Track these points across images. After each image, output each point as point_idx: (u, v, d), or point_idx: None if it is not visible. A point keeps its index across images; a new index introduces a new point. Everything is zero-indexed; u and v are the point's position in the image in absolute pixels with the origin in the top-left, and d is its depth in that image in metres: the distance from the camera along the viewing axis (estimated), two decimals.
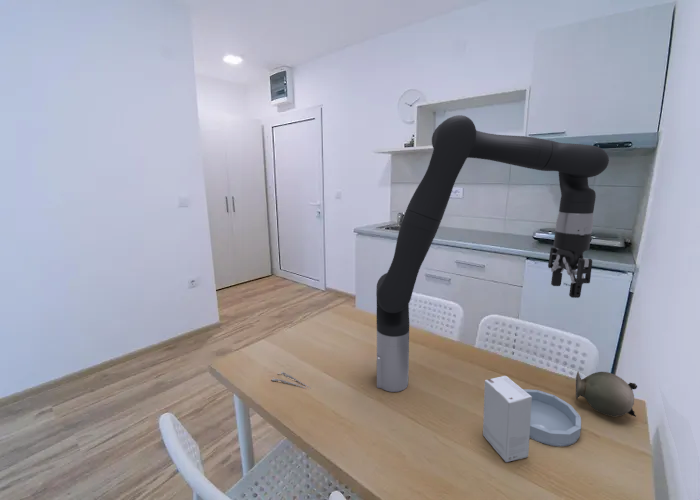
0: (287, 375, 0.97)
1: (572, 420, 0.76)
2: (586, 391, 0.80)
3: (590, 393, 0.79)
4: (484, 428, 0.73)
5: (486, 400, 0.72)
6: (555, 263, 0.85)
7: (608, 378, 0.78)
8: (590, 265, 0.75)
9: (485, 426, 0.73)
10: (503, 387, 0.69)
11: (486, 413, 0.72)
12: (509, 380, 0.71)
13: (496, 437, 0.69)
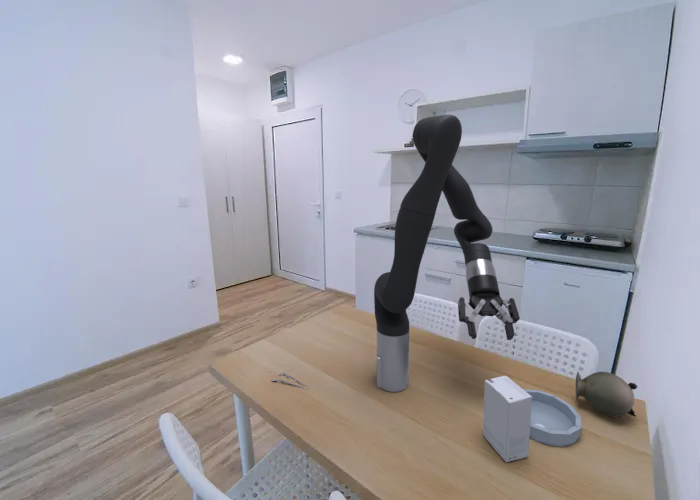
0: (288, 375, 0.97)
1: (572, 420, 0.76)
2: (586, 391, 0.80)
3: (589, 393, 0.79)
4: (484, 428, 0.73)
5: (486, 400, 0.72)
6: (478, 309, 0.80)
7: (608, 378, 0.78)
8: None
9: (485, 426, 0.73)
10: (503, 386, 0.69)
11: (486, 413, 0.72)
12: (509, 380, 0.71)
13: (496, 437, 0.69)
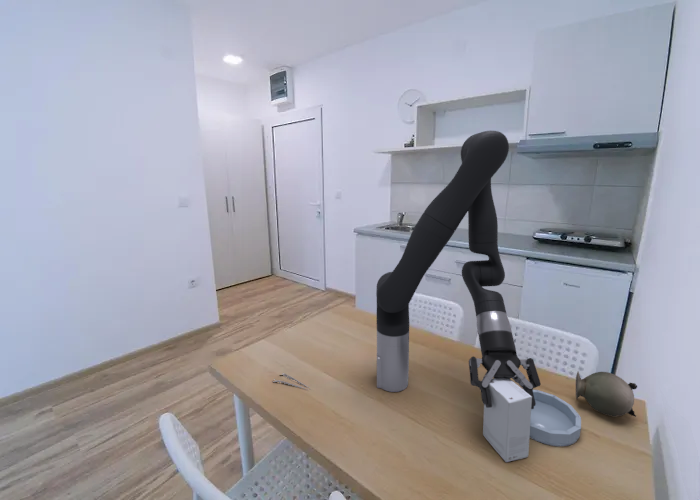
0: (289, 376, 0.97)
1: (572, 420, 0.76)
2: (586, 391, 0.80)
3: (590, 393, 0.79)
4: (484, 428, 0.73)
5: None
6: (492, 372, 0.70)
7: (608, 378, 0.78)
8: None
9: (485, 426, 0.73)
10: (503, 386, 0.69)
11: (486, 413, 0.72)
12: (509, 380, 0.71)
13: (496, 437, 0.69)
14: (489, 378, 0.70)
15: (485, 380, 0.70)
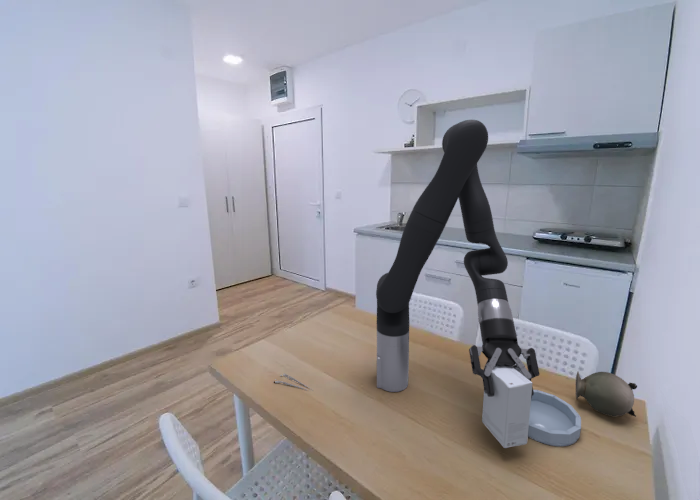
0: (290, 377, 0.96)
1: (572, 420, 0.76)
2: (586, 391, 0.80)
3: (589, 393, 0.79)
4: (483, 415, 0.73)
5: None
6: (494, 361, 0.69)
7: (608, 378, 0.78)
8: None
9: (484, 413, 0.72)
10: (503, 372, 0.68)
11: (486, 399, 0.71)
12: (510, 367, 0.70)
13: (495, 423, 0.69)
14: (491, 366, 0.69)
15: (487, 369, 0.69)
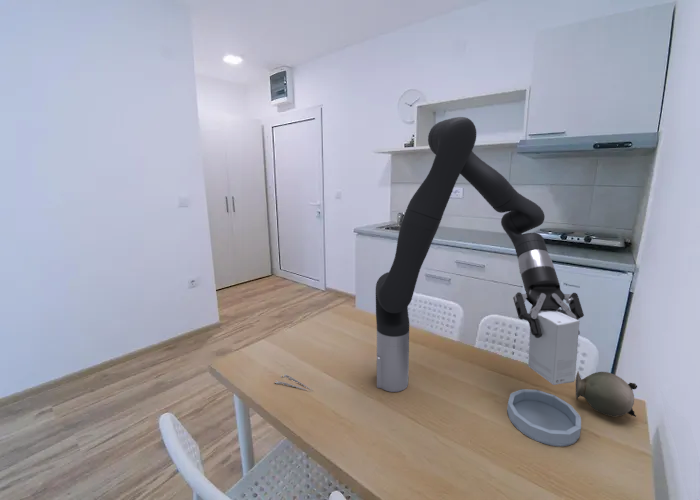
0: (290, 378, 0.96)
1: (572, 420, 0.76)
2: (586, 391, 0.80)
3: (590, 393, 0.79)
4: (530, 358, 0.77)
5: None
6: (539, 305, 0.74)
7: (608, 379, 0.78)
8: None
9: (530, 356, 0.76)
10: (549, 314, 0.72)
11: (532, 343, 0.75)
12: (555, 311, 0.74)
13: (543, 363, 0.72)
14: (537, 310, 0.73)
15: (533, 312, 0.73)
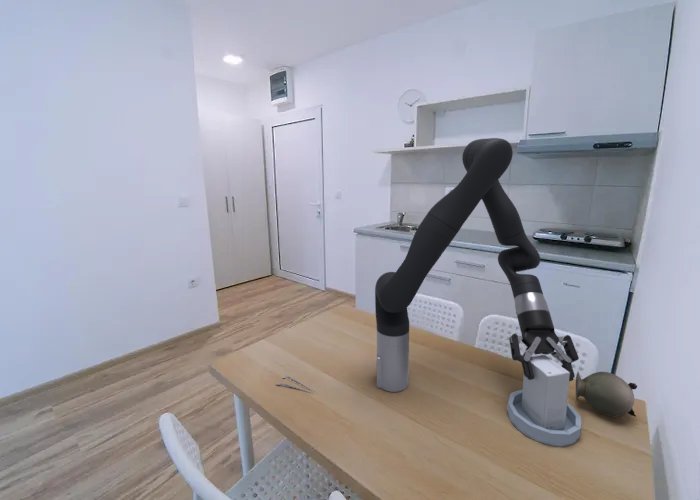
0: (292, 379, 0.95)
1: (572, 420, 0.76)
2: (586, 391, 0.80)
3: (589, 393, 0.79)
4: (523, 402, 0.80)
5: None
6: (533, 348, 0.76)
7: (608, 378, 0.78)
8: None
9: (524, 400, 0.80)
10: (542, 363, 0.75)
11: (525, 388, 0.79)
12: (548, 358, 0.77)
13: (534, 409, 0.76)
14: (530, 353, 0.76)
15: (527, 355, 0.76)
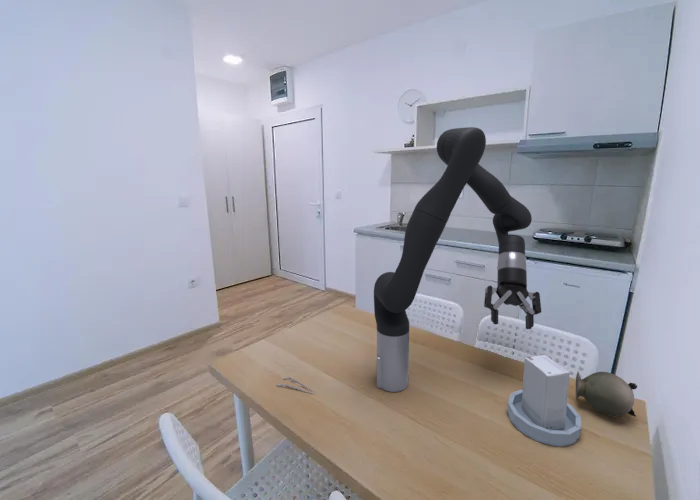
0: (293, 380, 0.95)
1: (572, 420, 0.76)
2: (586, 391, 0.80)
3: (589, 393, 0.79)
4: (523, 402, 0.80)
5: (525, 376, 0.78)
6: (503, 299, 0.88)
7: (608, 378, 0.78)
8: None
9: (523, 400, 0.80)
10: (542, 363, 0.75)
11: (525, 388, 0.79)
12: (548, 358, 0.77)
13: (534, 409, 0.76)
14: (500, 303, 0.88)
15: (496, 304, 0.88)
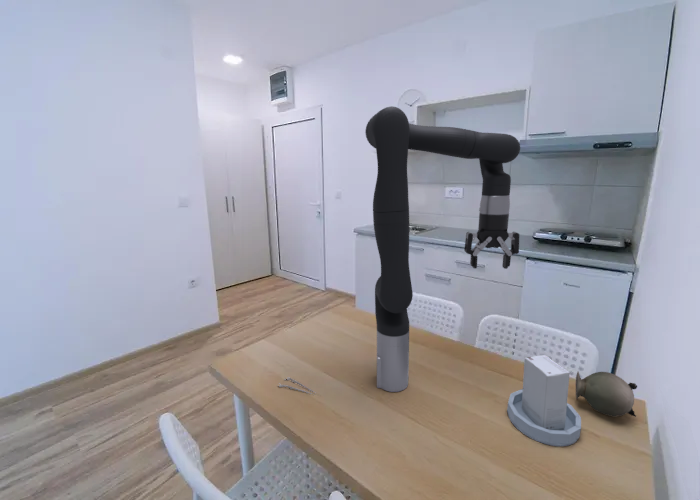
0: (294, 381, 0.95)
1: (572, 420, 0.76)
2: (586, 391, 0.80)
3: (590, 393, 0.79)
4: (523, 402, 0.80)
5: (525, 376, 0.78)
6: (483, 246, 0.89)
7: (608, 378, 0.78)
8: None
9: (523, 400, 0.80)
10: (542, 363, 0.75)
11: (525, 388, 0.79)
12: (548, 358, 0.77)
13: (534, 409, 0.76)
14: (479, 249, 0.89)
15: (476, 251, 0.90)
